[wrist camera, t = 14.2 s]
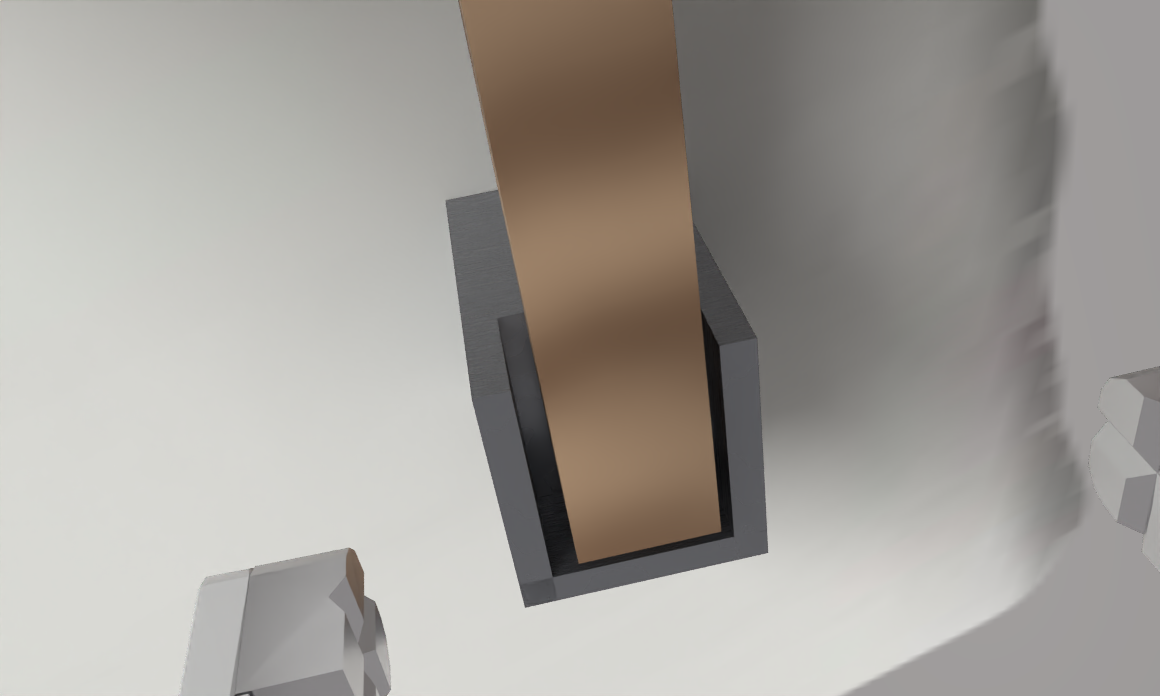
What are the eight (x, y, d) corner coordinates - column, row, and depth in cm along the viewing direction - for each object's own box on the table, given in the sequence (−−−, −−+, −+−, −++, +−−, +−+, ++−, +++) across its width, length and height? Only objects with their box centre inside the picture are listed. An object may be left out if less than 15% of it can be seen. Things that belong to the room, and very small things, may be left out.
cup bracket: (445, 200, 36) (471, 399, 27) (657, 157, 36) (756, 337, 27) (489, 383, 41) (525, 607, 31) (677, 343, 41) (768, 552, 32)
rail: (306, -715, 18) (287, -823, 13) (540, -754, 18) (590, -870, 14) (552, 447, 32) (578, 563, 28) (677, 419, 33) (721, 531, 29)
